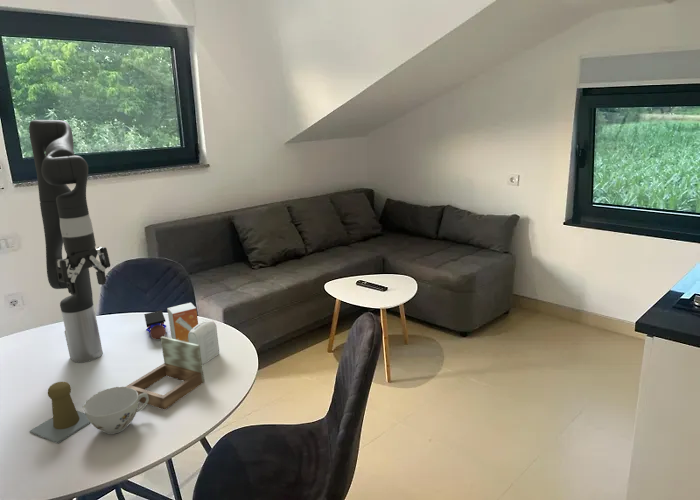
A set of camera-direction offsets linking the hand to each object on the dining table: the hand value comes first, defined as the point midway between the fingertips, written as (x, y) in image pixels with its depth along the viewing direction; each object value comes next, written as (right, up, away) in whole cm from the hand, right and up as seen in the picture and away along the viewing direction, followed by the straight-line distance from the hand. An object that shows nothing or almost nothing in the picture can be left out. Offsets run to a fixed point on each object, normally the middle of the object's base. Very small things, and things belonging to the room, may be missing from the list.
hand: (88, 289), depth 142 cm
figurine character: (+3, -19, +42) cm, 46 cm away
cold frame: (+19, -29, +5) cm, 35 cm away
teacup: (+14, -34, -10) cm, 38 cm away
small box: (+16, -21, +33) cm, 43 cm away
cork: (-1, -34, -9) cm, 35 cm away
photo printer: (+26, -24, +22) cm, 42 cm away
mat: (-2, -34, -9) cm, 36 cm away
